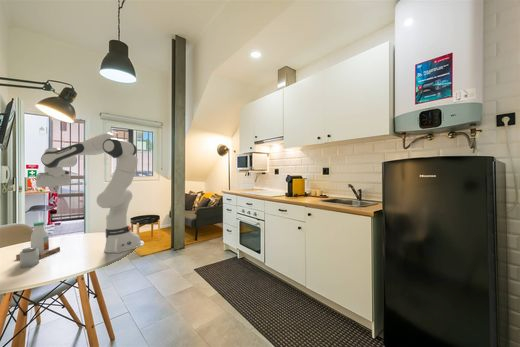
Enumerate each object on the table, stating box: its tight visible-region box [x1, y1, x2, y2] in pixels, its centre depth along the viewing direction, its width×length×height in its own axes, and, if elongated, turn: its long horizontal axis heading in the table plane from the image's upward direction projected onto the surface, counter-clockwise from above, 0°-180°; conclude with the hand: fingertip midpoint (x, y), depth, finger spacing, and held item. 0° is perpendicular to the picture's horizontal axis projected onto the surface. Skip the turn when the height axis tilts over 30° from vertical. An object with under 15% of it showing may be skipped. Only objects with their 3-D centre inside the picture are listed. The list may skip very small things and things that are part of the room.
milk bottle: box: [30, 221, 50, 254], centre depth 131 cm, size 8×8×20 cm
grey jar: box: [19, 246, 40, 269], centre depth 117 cm, size 7×7×9 cm
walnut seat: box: [15, 246, 61, 260], centre depth 130 cm, size 12×14×2 cm
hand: (54, 192), depth 142 cm, fingers closed
